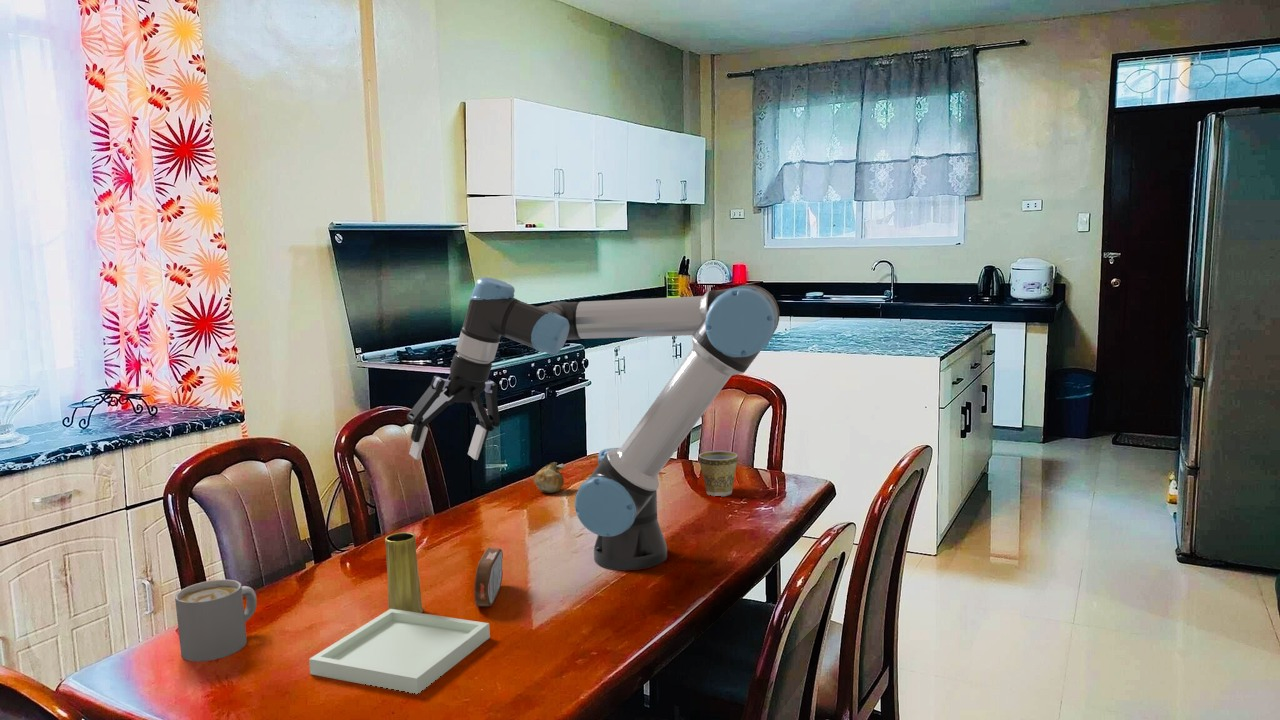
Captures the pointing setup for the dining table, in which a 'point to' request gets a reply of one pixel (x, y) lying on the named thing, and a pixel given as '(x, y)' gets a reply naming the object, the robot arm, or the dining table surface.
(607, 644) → the dining table surface
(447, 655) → the tray
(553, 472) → the onion
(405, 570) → the vase
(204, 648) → the coffee mug
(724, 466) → the ceramic cup
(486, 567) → the tin
